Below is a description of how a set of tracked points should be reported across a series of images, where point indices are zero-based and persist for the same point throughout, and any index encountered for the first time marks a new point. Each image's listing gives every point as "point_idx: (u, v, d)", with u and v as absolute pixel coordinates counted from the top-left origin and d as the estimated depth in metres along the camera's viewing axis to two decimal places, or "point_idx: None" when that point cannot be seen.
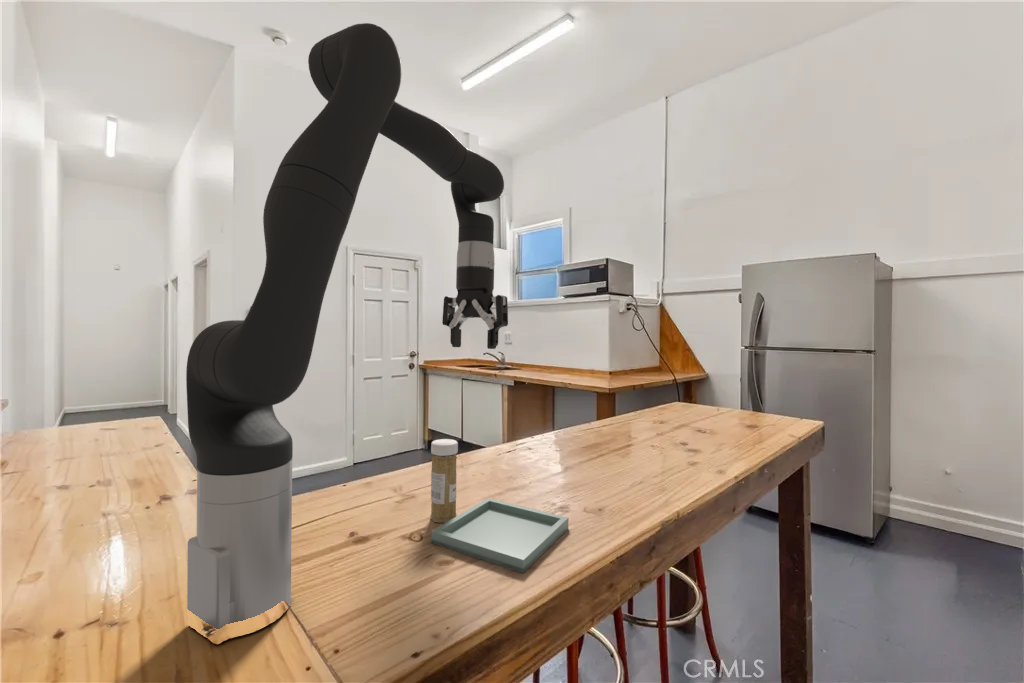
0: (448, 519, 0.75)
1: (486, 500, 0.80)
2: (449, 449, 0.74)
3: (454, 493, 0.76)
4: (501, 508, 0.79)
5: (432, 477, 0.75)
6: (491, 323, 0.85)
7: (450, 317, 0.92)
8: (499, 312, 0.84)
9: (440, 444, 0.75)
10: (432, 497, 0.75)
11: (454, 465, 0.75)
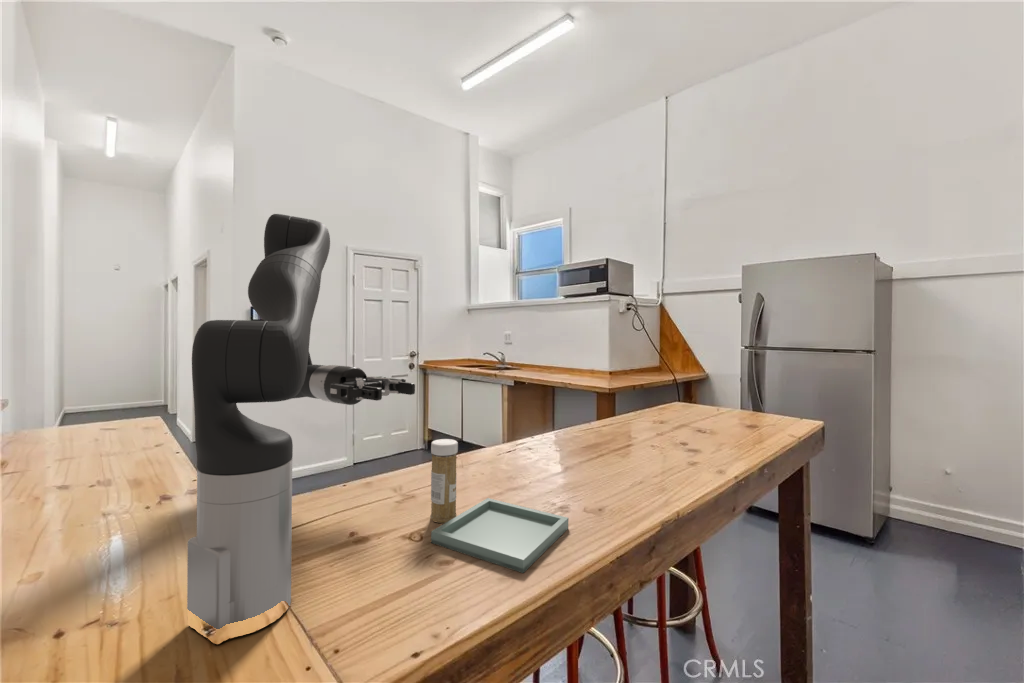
0: (448, 519, 0.75)
1: (486, 500, 0.80)
2: (449, 449, 0.74)
3: (454, 493, 0.76)
4: (501, 508, 0.79)
5: (432, 477, 0.75)
6: (396, 380, 0.88)
7: (346, 396, 0.79)
8: (395, 379, 0.91)
9: (439, 444, 0.75)
10: (432, 497, 0.75)
11: (454, 465, 0.75)
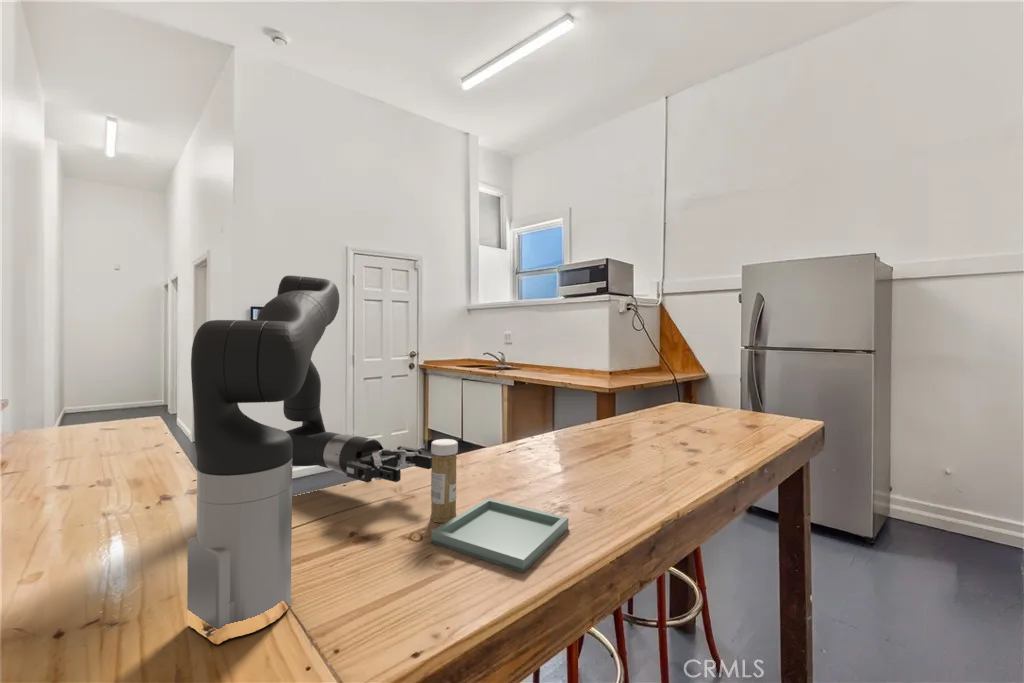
0: (448, 519, 0.75)
1: (486, 500, 0.80)
2: (449, 449, 0.74)
3: (454, 493, 0.76)
4: (501, 508, 0.79)
5: (432, 477, 0.75)
6: (413, 452, 0.86)
7: (363, 477, 0.77)
8: (411, 448, 0.88)
9: (439, 444, 0.75)
10: (432, 497, 0.75)
11: (454, 465, 0.75)
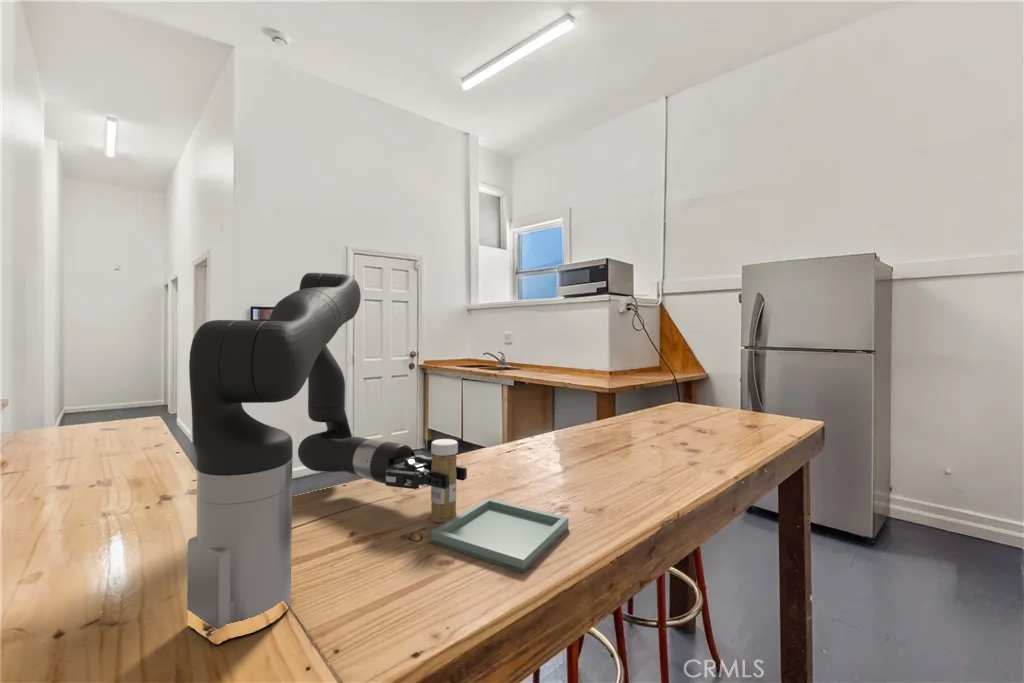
0: (448, 519, 0.75)
1: (486, 500, 0.80)
2: (449, 449, 0.74)
3: (454, 493, 0.76)
4: (501, 508, 0.79)
5: None
6: None
7: (409, 484, 0.74)
8: None
9: (439, 444, 0.75)
10: (432, 497, 0.75)
11: (454, 465, 0.75)
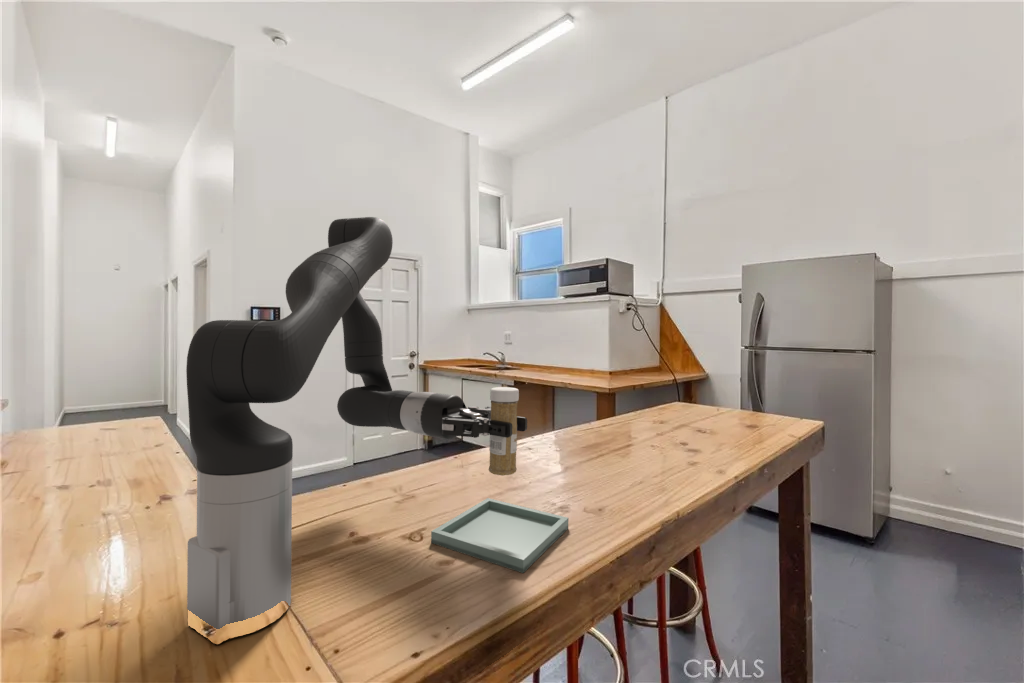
0: (509, 471, 0.69)
1: (486, 500, 0.80)
2: (511, 395, 0.68)
3: (515, 444, 0.70)
4: (501, 508, 0.79)
5: None
6: None
7: (468, 433, 0.68)
8: None
9: (501, 389, 0.69)
10: (492, 448, 0.69)
11: (515, 413, 0.70)
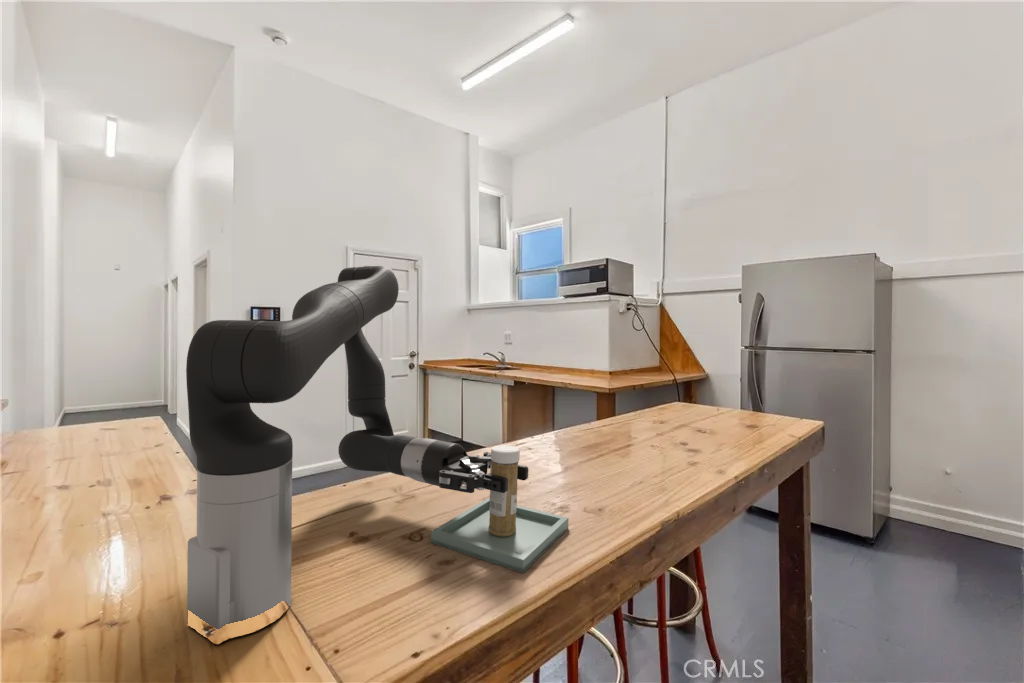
0: (509, 533, 0.69)
1: (486, 500, 0.80)
2: (512, 457, 0.68)
3: (515, 504, 0.70)
4: None
5: None
6: None
7: (463, 487, 0.67)
8: None
9: (502, 451, 0.69)
10: (492, 508, 0.69)
11: (516, 474, 0.70)
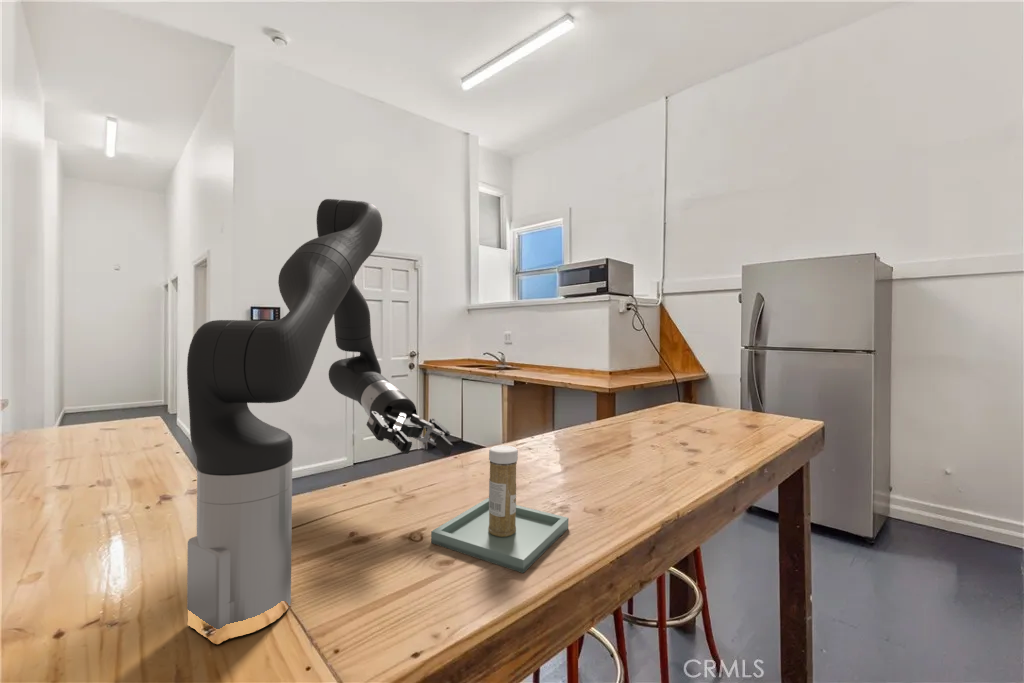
0: (509, 533, 0.69)
1: (486, 500, 0.80)
2: (510, 457, 0.68)
3: (514, 504, 0.70)
4: None
5: (491, 487, 0.69)
6: (440, 431, 0.80)
7: (378, 433, 0.73)
8: (441, 426, 0.82)
9: (499, 451, 0.69)
10: (491, 509, 0.69)
11: (514, 474, 0.70)
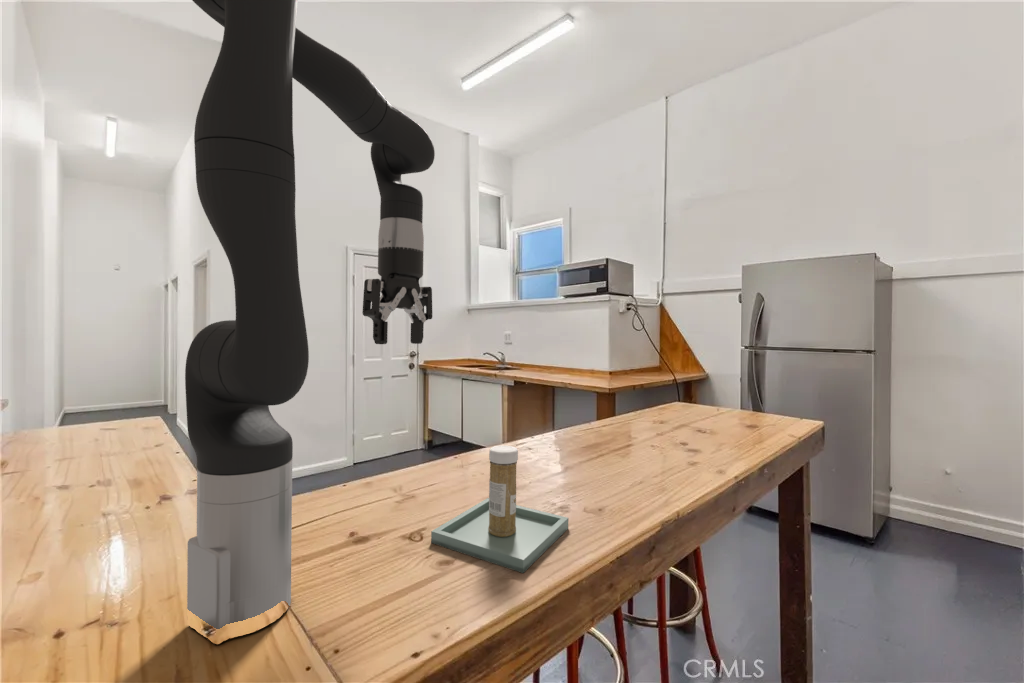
0: (509, 533, 0.69)
1: (486, 500, 0.80)
2: (510, 457, 0.68)
3: (515, 504, 0.70)
4: None
5: (491, 487, 0.69)
6: (423, 316, 0.79)
7: (367, 305, 0.70)
8: (430, 305, 0.81)
9: (500, 451, 0.69)
10: (491, 509, 0.69)
11: (515, 474, 0.70)
